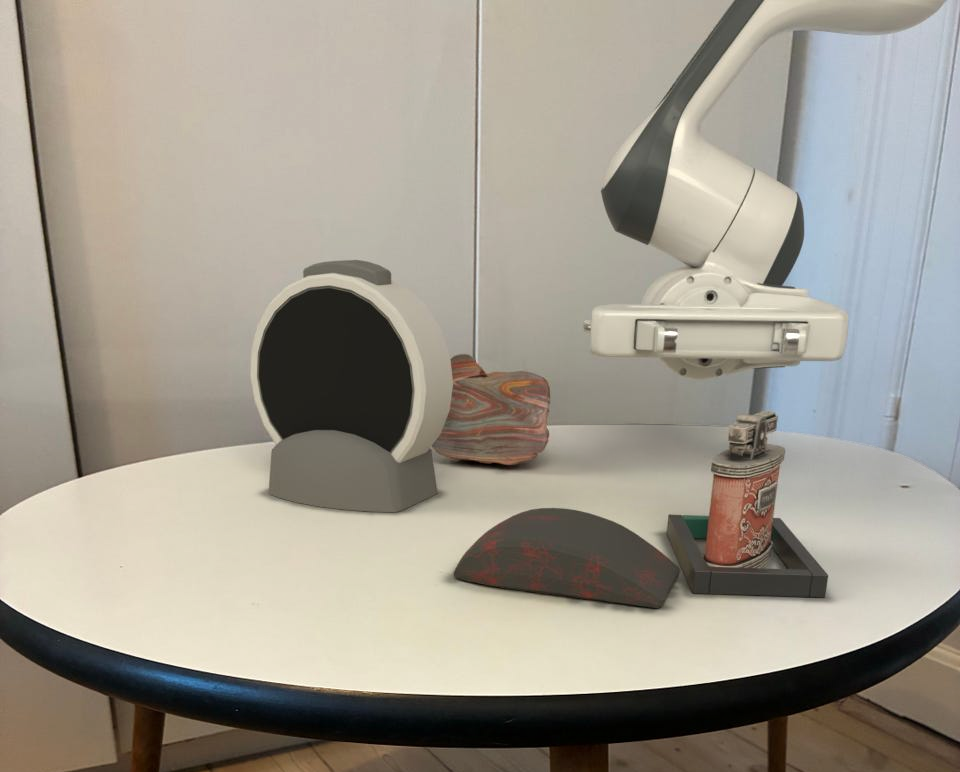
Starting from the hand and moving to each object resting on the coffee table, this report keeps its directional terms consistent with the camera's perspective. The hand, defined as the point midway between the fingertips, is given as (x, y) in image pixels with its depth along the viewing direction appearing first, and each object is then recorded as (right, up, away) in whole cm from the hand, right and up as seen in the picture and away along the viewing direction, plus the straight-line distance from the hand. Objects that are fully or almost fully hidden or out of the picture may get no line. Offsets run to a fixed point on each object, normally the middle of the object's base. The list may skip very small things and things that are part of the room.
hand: (731, 341), depth 76 cm
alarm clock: (-29, -10, +10) cm, 32 cm away
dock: (-1, -17, -6) cm, 18 cm away
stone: (-18, -5, +22) cm, 29 cm away
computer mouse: (-13, -18, -10) cm, 25 cm away
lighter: (-1, -17, -6) cm, 18 cm away
